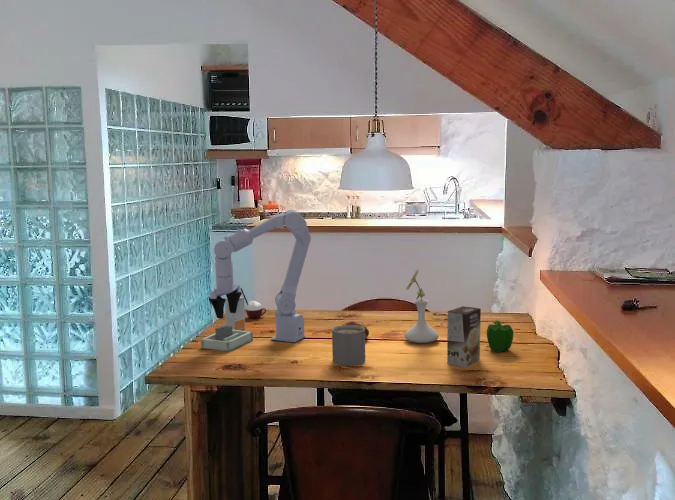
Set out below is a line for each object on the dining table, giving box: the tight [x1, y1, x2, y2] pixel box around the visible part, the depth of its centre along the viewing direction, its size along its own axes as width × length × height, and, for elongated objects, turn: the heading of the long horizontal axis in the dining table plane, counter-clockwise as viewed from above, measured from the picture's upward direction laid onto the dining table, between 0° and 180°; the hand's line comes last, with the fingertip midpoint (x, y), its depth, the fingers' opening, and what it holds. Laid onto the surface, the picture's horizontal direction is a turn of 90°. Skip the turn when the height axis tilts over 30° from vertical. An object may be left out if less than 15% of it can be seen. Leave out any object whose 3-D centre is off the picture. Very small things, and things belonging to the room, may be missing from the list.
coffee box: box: [446, 305, 482, 368], centre depth 196 cm, size 9×6×16 cm
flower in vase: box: [404, 268, 440, 344], centre depth 218 cm, size 13×11×25 cm
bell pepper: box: [486, 319, 514, 353], centre depth 208 cm, size 8×8×10 cm
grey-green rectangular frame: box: [200, 330, 254, 353], centre depth 222 cm, size 11×14×3 cm
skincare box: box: [224, 295, 246, 331], centre depth 239 cm, size 6×4×12 cm
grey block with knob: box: [214, 323, 232, 341], centre depth 222 cm, size 4×4×6 cm
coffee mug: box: [331, 324, 366, 367], centre depth 202 cm, size 13×10×10 cm
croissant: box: [341, 320, 370, 339], centre depth 225 cm, size 21×10×8 cm, turn 163°
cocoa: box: [240, 287, 267, 320], centre depth 257 cm, size 10×6×12 cm, turn 84°
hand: (226, 315), depth 223 cm, fingers open, 7 cm apart
